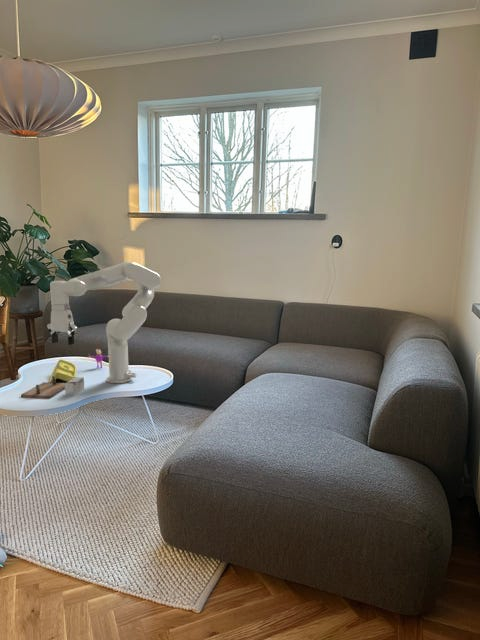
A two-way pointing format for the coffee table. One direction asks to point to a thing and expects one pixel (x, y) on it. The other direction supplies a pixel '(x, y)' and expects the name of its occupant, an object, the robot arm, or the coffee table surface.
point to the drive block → (74, 386)
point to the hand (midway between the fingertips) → (63, 343)
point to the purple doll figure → (99, 356)
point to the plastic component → (64, 371)
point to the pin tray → (45, 390)
